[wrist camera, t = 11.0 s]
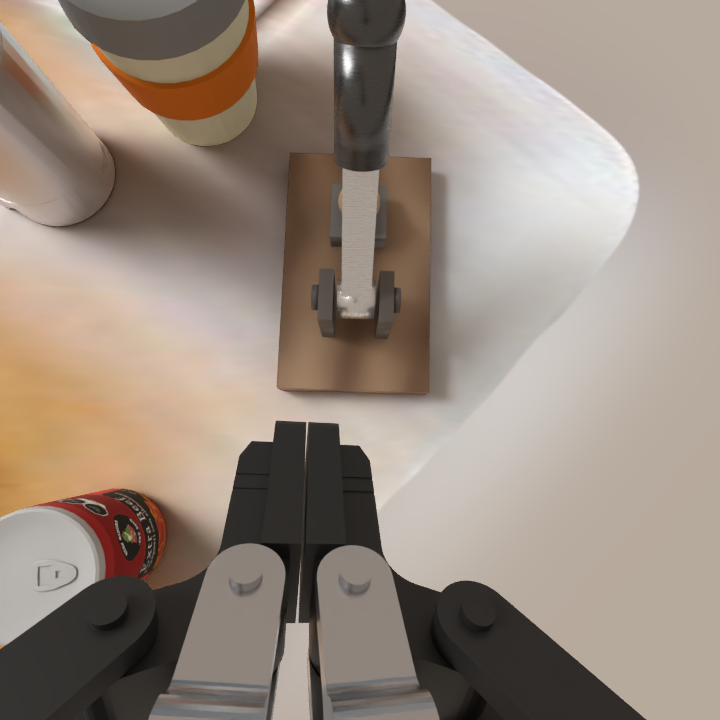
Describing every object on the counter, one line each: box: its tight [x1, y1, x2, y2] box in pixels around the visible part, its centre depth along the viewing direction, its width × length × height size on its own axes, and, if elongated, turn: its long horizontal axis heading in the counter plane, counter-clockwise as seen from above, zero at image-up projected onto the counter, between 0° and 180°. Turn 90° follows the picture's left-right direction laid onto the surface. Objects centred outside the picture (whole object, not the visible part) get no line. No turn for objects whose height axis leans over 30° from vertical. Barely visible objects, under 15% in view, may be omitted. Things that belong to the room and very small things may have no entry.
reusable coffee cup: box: [58, 0, 258, 146], centre depth 37 cm, size 13×13×15 cm
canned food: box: [0, 489, 167, 646], centre depth 33 cm, size 8×8×11 cm
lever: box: [327, 0, 406, 319], centre depth 28 cm, size 4×4×20 cm
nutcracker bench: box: [277, 153, 431, 395], centre depth 38 cm, size 12×20×8 cm, turn 178°
